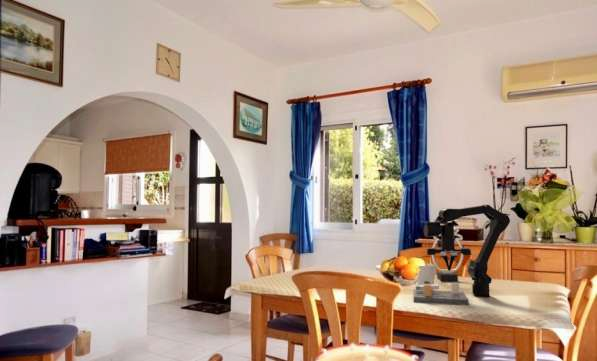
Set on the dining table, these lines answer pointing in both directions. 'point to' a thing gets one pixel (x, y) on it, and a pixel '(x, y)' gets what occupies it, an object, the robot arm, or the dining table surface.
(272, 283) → the dining table surface
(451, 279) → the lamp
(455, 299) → the panel
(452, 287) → the paddle
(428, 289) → the paddle
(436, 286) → the rocker
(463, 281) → the dining table surface
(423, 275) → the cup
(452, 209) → the robot arm
